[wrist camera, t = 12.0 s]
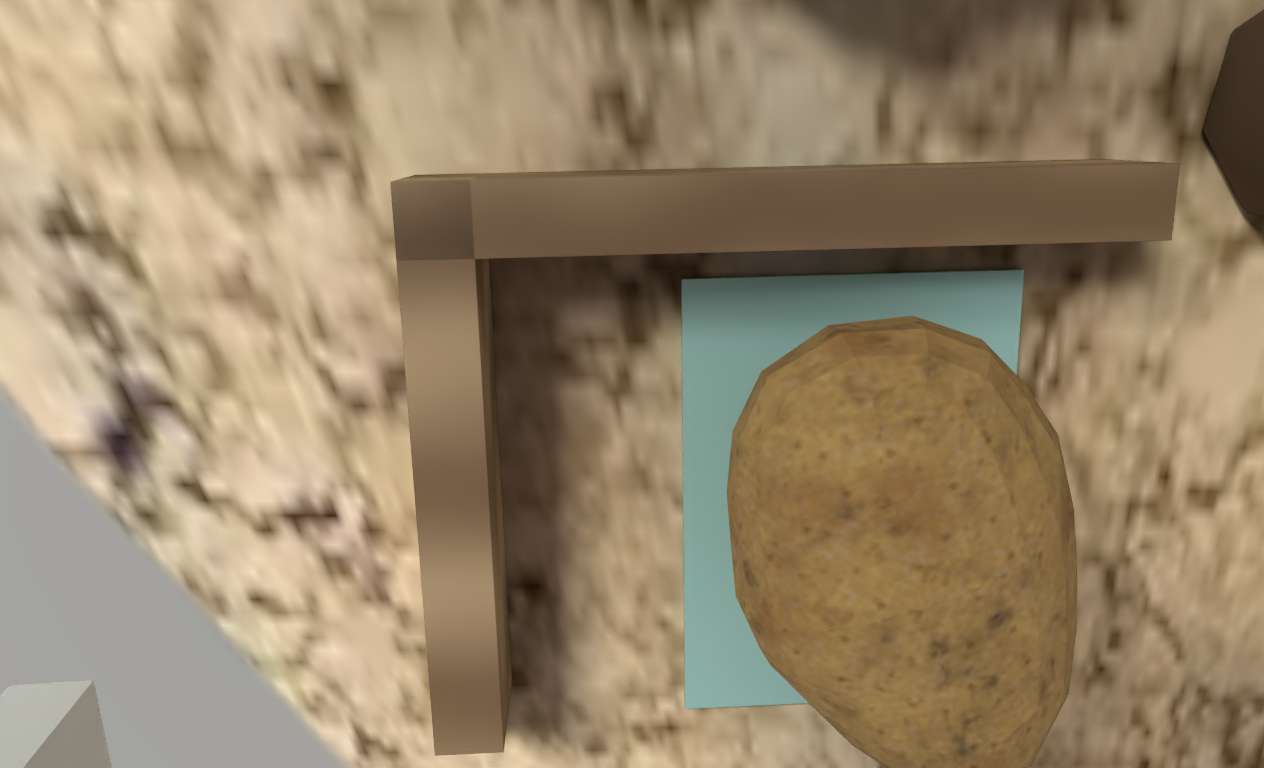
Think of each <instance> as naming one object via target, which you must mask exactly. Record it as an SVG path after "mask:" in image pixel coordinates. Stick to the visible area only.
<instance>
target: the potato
mask: <svg viewBox="0 0 1264 768" xmlns="http://www.w3.org/2000/svg"><path fill="white" fill-rule="evenodd" d="M727 504H728V516H729V527H730V539H731V551H732V563H733V573H734V584H735V594H736V598H737V600H738V602H739V605H740V607H741V609H742V611H743V613H744V615H745V618H746V620H747V622H748V624H749V626H750V628H751V631H752V633H753V635H754V637H755V639H756V641H757V644H758V646H759V648H760V650H761V651H762V653H763V654H764V656H765V657H766V659H767V660H768V662H769V664H770V665H771V666H772V667H773V668H774V669H775V670H776V671H777V672H778V673H779V674H780V675H781V676H782V677H783V678H784V679H785V680H786V681H787V682H788V683H789V684H790V685H791V686H792V687H793V688H794V689H795V690H796V691H797V692H798V693H799V694H800V695H801V696H802V697H803V698H804V699H805V700H806V701H807V702H808V703H809V704H810V705H811V706H812V707H813V708H814V709H815V710H816V711H818V712H819V713H820V714H821V715H822V716H823V717H824V718H825V719H826V720H827V721H828V722H829V723H830V724H831V725H832V726H833V727H834V728H835V729H836V730H837V731H838V732H839V733H840V734H841V735H842V736H843V737H844V738H846V739H847V740H848V741H849V742H850V743H851V744H852V745H853V746H855V747H856V748H858V749H859V750H861V751H862V752H864V753H865V754H867V755H868V756H870V757H871V758H873V759H874V760H876V761H877V762H879V763H880V764H882V765H883V766H885V767H886V768H1026V767H1029V766H1031V765H1032V763H1033V761H1034V759H1035V757H1036V755H1037V753H1038V751H1039V749H1040V747H1041V745H1042V743H1043V742H1044V740H1045V738H1046V736H1047V734H1048V732H1049V730H1050V728H1051V726H1052V724H1053V722H1054V720H1055V718H1056V717H1057V715H1058V713H1059V711H1060V709H1061V707H1062V705H1063V703H1064V701H1065V699H1066V697H1067V695H1068V692H1069V684H1070V676H1071V668H1072V659H1073V651H1074V643H1075V635H1076V605H1077V564H1076V545H1075V526H1074V509H1073V504H1072V499H1071V495H1070V490H1069V485H1068V480H1067V476H1066V471H1065V466H1064V461H1063V456H1062V452H1061V447H1060V442H1059V437H1058V435H1057V433H1056V431H1055V430H1054V428H1053V427H1052V425H1051V423H1050V422H1049V420H1048V419H1047V417H1046V416H1045V414H1044V412H1043V411H1042V409H1041V408H1040V406H1039V405H1038V403H1037V401H1036V400H1035V398H1034V397H1033V395H1032V393H1031V392H1030V390H1029V389H1028V387H1027V386H1026V384H1025V383H1024V382H1023V381H1022V380H1021V379H1020V378H1019V377H1018V376H1017V375H1016V374H1015V373H1014V372H1013V371H1012V370H1011V369H1010V368H1009V367H1008V366H1007V364H1006V363H1005V362H1004V361H1003V360H1002V359H1001V358H1000V357H999V356H998V355H997V354H996V353H995V352H994V351H993V350H992V349H991V348H990V347H989V346H988V345H987V344H986V343H985V342H984V341H983V340H982V339H980V338H977V337H974V336H971V335H968V334H966V333H963V332H960V331H957V330H954V329H951V328H948V327H945V326H942V325H939V324H936V323H933V322H930V321H928V320H925V319H922V318H919V317H916V316H904V317H895V318H886V319H878V320H869V321H860V322H851V323H843V324H834V325H828V326H826V327H825V328H823V329H822V330H820V331H819V332H818V333H816V334H815V335H813V336H812V337H810V338H809V339H807V340H806V341H805V342H803V343H802V344H800V345H799V346H797V347H796V348H794V349H793V350H791V351H790V352H789V353H787V354H786V355H784V356H783V357H781V358H780V359H778V360H777V361H776V362H774V363H773V364H771V365H770V366H768V367H767V368H765V369H764V370H762V371H761V373H760V375H759V377H758V379H757V381H756V383H755V385H754V387H753V390H752V392H751V394H750V396H749V398H748V400H747V402H746V404H745V406H744V408H743V410H742V412H741V415H740V417H739V419H738V421H737V423H736V425H735V427H734V429H733V432H732V442H731V452H730V462H729V472H728V482H727Z"/></svg>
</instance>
